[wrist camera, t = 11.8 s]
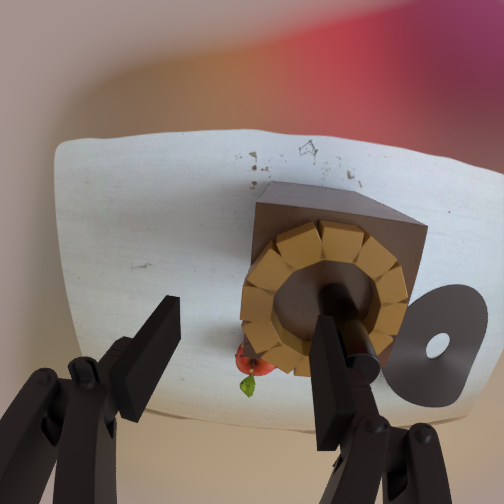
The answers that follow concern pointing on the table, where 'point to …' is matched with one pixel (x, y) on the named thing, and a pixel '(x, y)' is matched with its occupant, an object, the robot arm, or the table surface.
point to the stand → (327, 272)
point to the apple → (251, 370)
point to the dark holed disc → (452, 360)
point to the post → (349, 329)
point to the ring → (307, 253)
